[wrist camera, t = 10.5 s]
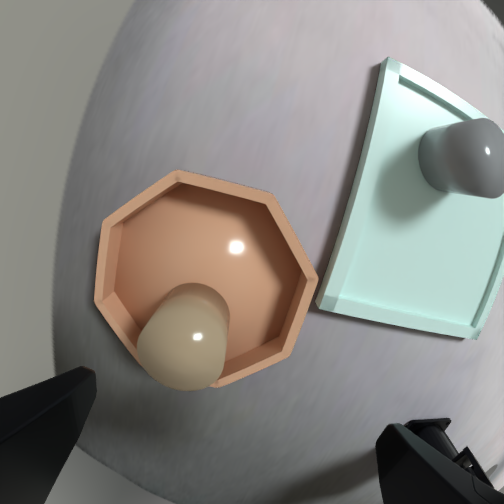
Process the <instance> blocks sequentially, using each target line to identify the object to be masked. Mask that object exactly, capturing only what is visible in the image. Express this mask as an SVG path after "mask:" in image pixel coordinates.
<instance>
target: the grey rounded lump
mask: <svg viewBox="0 0 504 504" xmlns="http://www.w3.org/2000/svg"><path fill="white" fill-rule="evenodd" d="M418 161H419V166H420V169H421V172H422V174H423V176H424V178H425V180H426V181H427V182H428V184H429V185H430V186H432V187H433V188H434V189H436V190H438V191H441V192H447V193H455V194H463V195H470V196H477V197H483V198H490V199H495V198H498V197H500V196H501V195H502V194H503V193H504V133H503V132H502V130H501V129H500V128H499V126H498V125H497V124H495V123H494V122H493V121H491V120H489V119H487V118H478V119H473V120H467V121H462V122H457V123H453V124H448V125H443V126H439V127H434V128H431V129H429V130H428V131H427V132H426V133H425V134H424V135H423V137H422V138H421V141H420V143H419V148H418Z"/></svg>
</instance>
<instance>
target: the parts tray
mask: <svg viewBox="0 0 504 504" xmlns="http://www.w3.org/2000/svg"><path fill="white" fill-rule="evenodd" d="M478 118H487V117H486V116H485V115H483V114H482V113H481V112H479V111H478V110H477V109H475V108H474V107H473V106H471V105H470V104H468V103H467V102H465V101H464V100H463V99H461V98H460V97H458V96H457V95H455V94H454V93H452V92H451V91H449V90H447V89H446V88H444V87H443V86H441V85H439V84H438V83H436V82H434V81H433V80H431V79H429V78H428V77H426V76H424V75H422V74H421V73H419V72H417V71H415V70H413V69H412V68H410V67H408V66H406V65H404V64H402V63H400V62H398V61H396V60H394V59H392V58H390V57H387V58H386V59H385V60H384V61H382V62H381V66H380V72H379V77H378V82H377V87H376V92H375V97H374V101H373V106H372V110H371V115H370V119H369V124H368V128H367V132H366V136H365V140H364V144H363V148H362V152H361V156H360V160H359V164H358V168H357V171H356V175H355V179H354V182H353V186H352V189H351V193H350V196H349V200H348V203H347V207H346V210H345V213H344V217H343V220H342V223H341V226H340V230H339V233H338V236H337V239H336V242H335V245H334V248H333V251H332V254H331V257H330V260H329V263H328V266H327V269H326V272H325V275H324V278H323V281H322V284H321V286H320V289H319V292H318V295H317V298H316V300H315V302H316V304H317V306H318V308H319V309H322V310H326V311H331V312H335V313H340V314H344V315H349V316H353V317H358V318H363V319H368V320H372V321H377V322H382V323H387V324H392V325H397V326H402V327H407V328H412V329H418V330H423V331H428V332H434V333H440V334H445V335H451V336H457V337H463V338H469V339H475V340H477V338H478V336H479V334H480V332H481V330H482V328H483V326H484V323H485V321H486V319H487V317H488V314H489V312H490V310H491V307H492V305H493V303H494V300H495V298H496V295H497V292H498V290H499V287H500V284H501V282H502V279H503V276H504V193H503V194H502V195H501V196H500V197H498V198H495V199H490V198H483V197H477V196H470V195H463V194H455V193H447V192H441V191H438V190H436V189H434V188H433V187H432V186H430V185H429V184H428V182H427V181H426V180H425V178H424V176H423V174H422V172H421V169H420V166H419V161H418V148H419V143H420V141H421V138H422V137H423V135H424V134H425V133H426V132H427V131H428V130H429V129H431V128H434V127H439V126H443V125H448V124H453V123H457V122H462V121H467V120H473V119H478ZM487 119H489V118H487ZM489 120H490V119H489ZM499 128H500V127H499ZM500 129H501V128H500ZM501 130H502V129H501ZM502 132H503V133H504V131H503V130H502Z"/></svg>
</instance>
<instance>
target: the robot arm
mask: <svg viewBox="0 0 504 504" xmlns="http://www.w3.org/2000/svg"><path fill="white" fill-rule="evenodd" d="M96 392H97V389H96V375H95V371H94V370H92V369H89V368H87V367H85V366H80V367H77V368H75V369H73V370H70V371H68V372H65V373H63V374H60V375H58V376H55V377H53V378H50V379H48V380H45V381H43V382H40V383H38V384H35V385H32V386H30V387H27V388H25V389H22V390H19V391H17V392H14V393H11V394H9V395H6V396H4V397H1V398H0V504H44V503H45V501H46V499H47V497H48V495H49V493H50V491H51V489H52V487H53V485H54V483H55V481H56V479H57V477H58V476H59V474H60V472H61V470H62V468H63V466H64V464H65V462H66V460H67V459H68V457H69V455H70V453H71V451H72V449H73V447H74V446H75V444H76V442H77V440H78V438H79V436H80V434H81V431H82V429H83V426H84V424H85V421H86V419H87V416H88V414H89V412H90V409H91V407H92V404H93V402H94V400H95V397H96ZM450 423H451V420H450V418H442V419H428V420H413V421H411V422H410V423H409V424H408V425H407V427H404V426H403V425H402V424H399V423H395V424H389V425H387V427H386V428H385V429H384V431H383V432H382V433H381V435H380V436H379V438H378V439H377V441H376V455H377V464H378V474H379V483H380V488H381V493H382V498H383V503H384V504H504V494H503V493H501V492H499V491H497V490H495V489H494V487H493V485H492V483H491V482H490V480H489V478H488V477H487V475H486V474H485V472H484V470H483V469H482V467H481V466H480V464H479V463H478V461H477V460H476V458H475V457H474V455H473V454H472V452H471V451H470V449H469V448H468V447H465V448H464V449H463V451H462V452H460V453H458V451H457V450H456V448H455V447H454V445H453V444H452V442H451V441H450V439H449V437H448V436H447V434H446V433H445V430H446V428H447V427H448V426H449V424H450ZM471 464H472V465H473V466H471V467H469V466H470V465H471Z"/></svg>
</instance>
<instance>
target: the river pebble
mask: <svg viewBox="0 0 504 504" xmlns="http://www.w3.org/2000/svg"><path fill="white" fill-rule="evenodd" d="M229 324H230V311H229V307H228V305H227V303H226V301H225V300H224V298H223V297H222V296H221V295H220V294H219V293H218V292H217V291H216V290H214V289H213V288H211V287H209V286H207V285H204V284H200V283H184V284H181V285H178V286H176V287H175V288H173V289H172V290H171V291H170V292H169V293H168V294H167V295H166V296H165V298H164V299H163V301H162V302H161V304H160V305H159V307H158V308H157V310H156V311H155V312H154V314H153V315H152V317H151V318H150V320H149V321H148V323H147V324H146V326H145V327H144V329H143V330H142V332H141V333H140V335H139V338H138V342H137V353H138V357H139V360H140V362H141V364H142V366H143V368H144V369H145V370H146V372H147V373H148V374H149V375H150V376H151V377H152V378H153V379H155V380H156V381H158V382H159V383H161V384H162V385H164V386H167V387H169V388H172V389H176V390H181V391H195V390H200V389H203V388H206V387H208V386H210V385H211V384H213V383H214V382H215V381H216V380H217V379H218V378H219V377H220V375H221V373H222V371H223V367H224V361H225V354H226V346H227V339H228V332H229Z"/></svg>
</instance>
